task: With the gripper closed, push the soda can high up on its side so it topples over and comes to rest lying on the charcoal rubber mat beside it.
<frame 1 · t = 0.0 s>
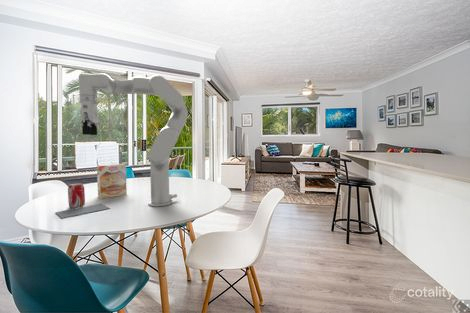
hand: (90, 134, 116), 37 cm above the table, tool pointing down, fingers open, 9 cm apart
coffeecake box: (112, 196, 145), on the table
soda can: (77, 207, 121), on the table
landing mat: (83, 210, 114), on the table
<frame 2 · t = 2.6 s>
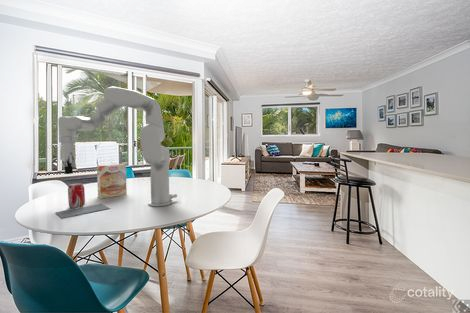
hand: (68, 173, 127), 16 cm above the table, tool pointing down, fingers closed
nothing on the table moved.
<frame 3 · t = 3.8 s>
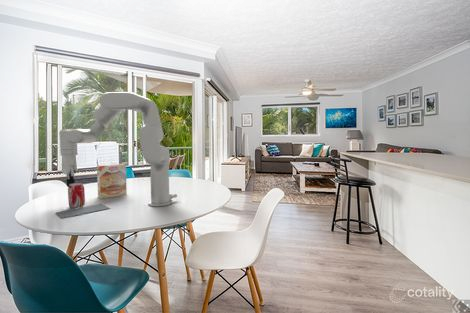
hand: (70, 186, 127), 10 cm above the table, tool pointing down, fingers closed
nothing on the table moved.
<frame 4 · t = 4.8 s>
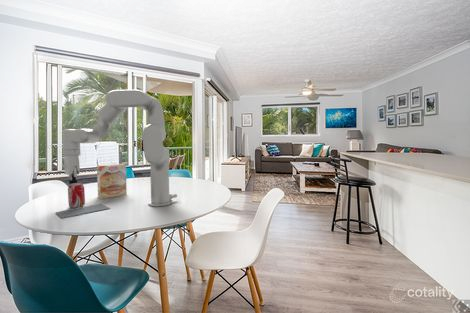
hand: (73, 187, 123), 10 cm above the table, tool pointing down, fingers closed
soda can: (77, 207, 121), on the table, touching gripper
everything else where it was.
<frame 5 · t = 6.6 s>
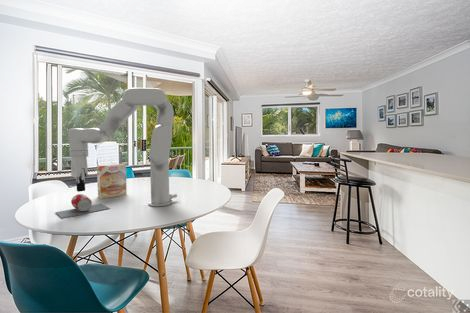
hand: (81, 190, 115), 9 cm above the table, tool pointing down, fingers closed
soda can: (78, 200, 119), point 4 cm above the table, touching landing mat
everything else where it was.
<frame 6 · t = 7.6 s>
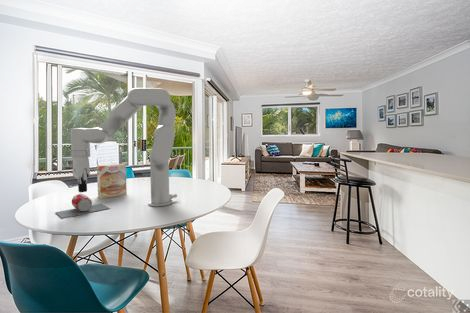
hand: (82, 191, 113), 10 cm above the table, tool pointing down, fingers closed
nothing on the table moved.
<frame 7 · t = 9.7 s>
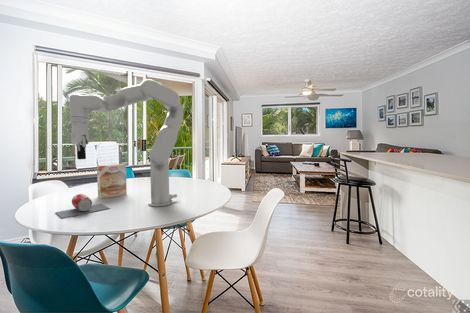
hand: (81, 159, 114), 25 cm above the table, tool pointing down, fingers closed
nothing on the table moved.
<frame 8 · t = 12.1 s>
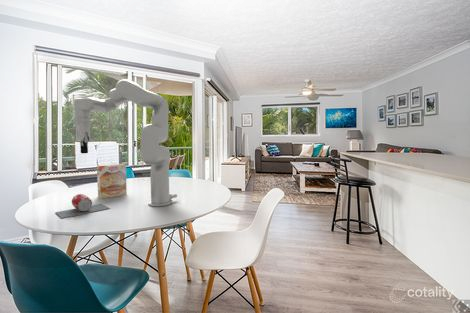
hand: (84, 153, 134), 27 cm above the table, tool pointing down, fingers closed
nothing on the table moved.
at the end: soda can tilted 91°; soda can inside the target area (5.9 cm from its centre), point 4.0 cm above the table; the gripper is holding nothing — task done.
